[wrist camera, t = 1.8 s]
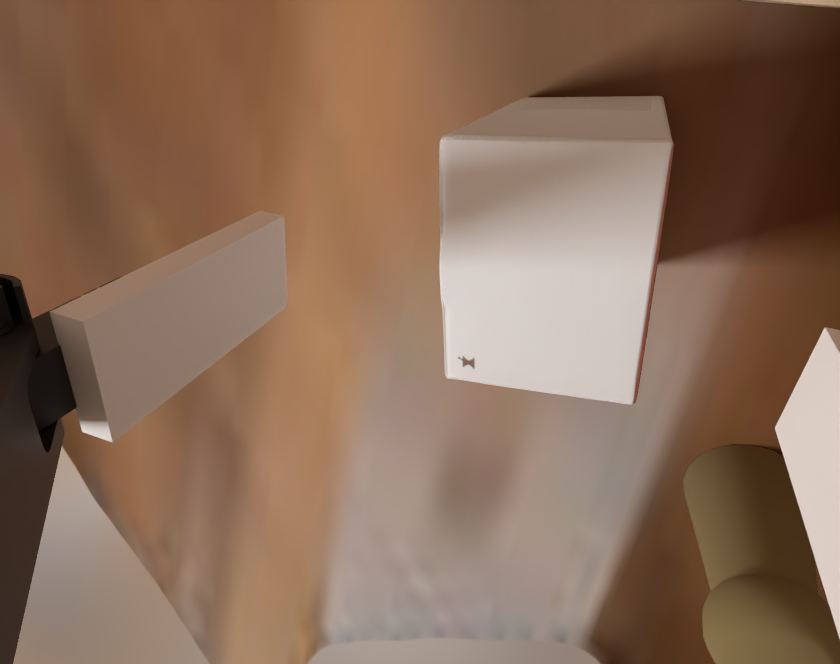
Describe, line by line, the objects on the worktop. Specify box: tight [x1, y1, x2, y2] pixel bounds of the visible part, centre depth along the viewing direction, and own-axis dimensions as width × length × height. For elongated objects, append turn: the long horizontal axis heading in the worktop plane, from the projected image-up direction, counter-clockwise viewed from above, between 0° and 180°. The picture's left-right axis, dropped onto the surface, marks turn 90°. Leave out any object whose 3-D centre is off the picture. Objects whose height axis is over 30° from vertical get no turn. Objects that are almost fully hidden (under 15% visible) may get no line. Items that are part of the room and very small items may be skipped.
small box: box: [439, 96, 674, 405], centre depth 22 cm, size 8×6×13 cm
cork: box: [683, 445, 840, 664], centre depth 27 cm, size 6×6×11 cm
